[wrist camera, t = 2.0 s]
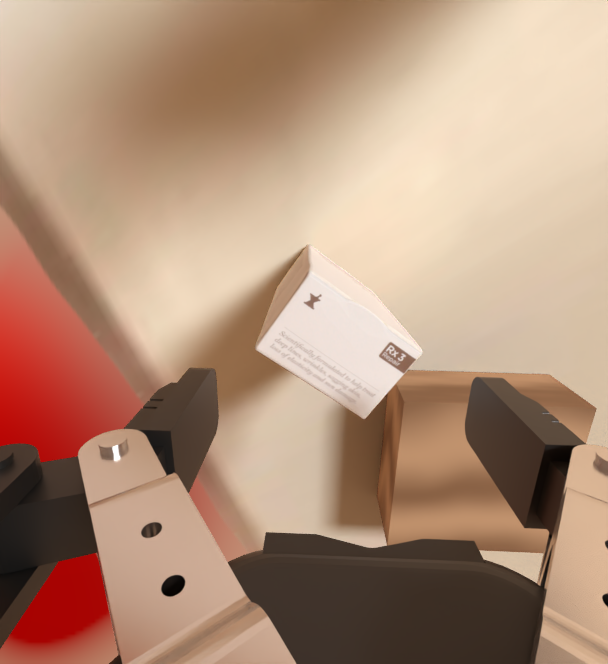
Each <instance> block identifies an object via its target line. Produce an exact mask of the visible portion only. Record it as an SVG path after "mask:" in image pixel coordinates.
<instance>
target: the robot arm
mask: <svg viewBox="0 0 608 664" xmlns="http://www.w3.org/2000/svg"><path fill="white" fill-rule="evenodd" d="M217 427H218V397H217V380H216V372H215V370H214V369H209V368H189V369H188V370H187V371H186V373H185V374H184V375H183V376H182V378H181V379H180V380H179V381H178V383H170V384H168V385H166V386H164V387H163V388H161V389H159V390H158V391H157V392H156V393H155V394H154V395H153V396H152V397H151V398H150V401H148V402H147V403H146V404H145V405H144V406H143V409H141V410H140V411H139V412H138V413H137V414H136V415H135V417H134V418H133V419H132V420H131V421H130V422H129V423H128V424H127V426H126V427H125V428H124V429H119V430H114V431H109V432H106V433H103V434H100V435H98V436H96V437H94V438H92V439H91V440H89V441H88V442H87V443H85V444H84V445H83V446H82V447H81V449H80V450H79V453H78V456H77V457H72V458H66V459H60V460H54V461H47V462H41V463H40V458H39V454H38V450H37V449H36V448H35V447H34V446H32V445H29V444H10V445H5V446H1V447H0V648H1V647H2V645H3V644H4V642H5V641H6V639H7V638H8V636H9V634H10V633H11V632H12V630H13V629H14V627H15V626H16V624H17V623H18V621H19V620H20V618H21V617H22V615H23V614H24V612H25V611H26V609H27V608H28V606H29V605H30V603H31V602H32V600H33V599H34V598H35V596H36V595H37V593H38V592H39V590H40V588H41V587H42V586H43V584H44V583H45V581H46V580H47V578H48V577H49V575H50V574H51V572H52V571H53V569H54V568H55V566H56V564H57V563H58V561H62V560H67V559H71V558H75V557H80V556H84V555H88V554H93V553H97V554H98V559H99V563H100V568H101V573H102V577H103V583H104V587H105V592H106V597H107V602H108V606H109V611H110V616H111V621H112V626H113V631H114V636H115V641H116V645H117V650H118V656H117V657H116V658H115V659H114V660H113V661H112V662H110V663H109V664H608V448H607V447H603V446H598V445H588V444H586V443H584V442H583V441H582V440H581V439H580V438H579V437H578V436H576V435H575V434H574V433H573V432H572V431H571V430H569V429H568V428H567V427H566V426H565V425H564V424H562V423H559V420H558V419H557V418H555V417H554V416H553V415H552V414H549V411H547V410H546V409H545V408H544V407H543V406H542V405H540V404H539V403H538V402H536V401H534V400H532V399H530V398H528V397H526V396H525V395H523V394H521V393H520V392H518V391H517V390H516V389H515V388H514V387H513V386H512V385H511V384H509V383H508V382H507V381H506V380H505V379H504V378H498V377H475V378H474V380H473V382H472V385H471V390H470V396H469V402H468V407H467V413H466V419H465V435H466V438H467V441H468V443H469V445H470V446H471V448H472V449H473V451H474V452H475V454H476V455H477V457H478V458H479V460H480V461H481V463H482V465H483V466H484V468H485V469H486V471H487V472H488V474H489V475H490V477H491V478H492V480H493V481H494V483H495V484H496V486H497V487H498V489H499V490H500V492H501V493H502V495H503V497H504V498H505V500H506V501H507V503H508V504H509V506H510V507H511V509H512V510H513V512H514V513H515V515H516V516H517V518H518V519H519V521H520V522H521V524H522V525H523V527H524V528H531V529H547V530H548V531H549V535H548V539H547V542H546V546H545V550H544V555H543V559H542V564H541V568H540V572H539V577H538V581H537V583H535V582H533V581H532V580H530V579H528V578H527V577H525V576H523V575H521V574H519V573H517V572H515V571H513V570H511V569H508V568H506V567H504V566H501V565H499V564H496V563H493V562H490V561H487V560H483V558H482V556H481V554H480V551H479V549H478V547H477V545H476V543H475V541H467V540H443V539H419V540H413V541H408V542H403V543H398V544H393V545H388V546H383V547H378V548H367V547H363V546H359V545H355V544H351V543H347V542H344V541H340V540H336V539H332V538H328V537H325V536H321V535H317V534H293V533H269V532H266V535H265V541H264V548H263V550H260V551H256V552H252V553H249V554H246V555H243V556H241V557H238V558H236V559H234V560H231V561H229V562H227V561H226V559H225V557H224V555H223V554H222V552H221V550H220V549H219V547H218V545H217V543H216V541H215V540H214V538H213V536H212V534H211V533H210V531H209V529H208V527H207V526H206V524H205V522H204V520H203V519H202V517H201V515H200V514H199V512H198V510H197V508H196V506H195V504H194V503H193V501H192V499H191V497H190V496H189V491H190V489H191V487H192V485H193V482H194V480H195V478H196V476H197V474H198V472H199V469H200V467H201V465H202V463H203V461H204V458H205V456H206V454H207V452H208V449H209V447H210V445H211V443H212V441H213V438H214V436H215V434H216V431H217Z"/></svg>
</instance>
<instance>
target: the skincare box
mask: <svg viewBox="0 0 608 664" xmlns="http://www.w3.org/2000/svg"><path fill="white" fill-rule="evenodd" d="M255 350H256V351H258V352H259V353H261V354H262V355H264V356H265V357H267V358H269V359H270V360H272V361H273V362H275V363H277V364H278V365H280V366H281V367H283V368H284V369H286V370H288V371H289V372H291V373H292V374H294V375H295V376H297V377H299V378H300V379H302V380H303V381H305V382H306V383H308V384H309V385H311V386H313V387H314V388H316V389H317V390H319V391H321V392H322V393H324V394H325V395H327V396H328V397H330V398H332V399H333V400H335V401H336V402H338V403H339V404H341V405H342V406H344V407H345V408H347V409H348V410H350V411H352V412H353V413H355V414H357V415H358V416H360V417H361V418H362V419H366V417H367V416H368V415H369V414H370V413H371V412H372V410H373V409H374V408H375V407H376V406H377V405H378V403H379V402H380V401H381V400H382V399H383V398H384V397H385V395H386V394H387V393H388V392H389V391H390V390H391V389H392V387H393V386H394V385H395V384H396V383H397V382H398V381H399V380H400V378H401V377H402V376H403V375H404V374H405V373H406V372H407V370H408V369H409V368H410V367H411V366H412V365H413V364H414V363H415V361H416V360H417V359H418V358H419V357H420V356H421V355H422V353H423V351H422V349H421V348H420V346H419V345H418V344H417V343H416V341H415V340H414V339H413V338H412V337H411V335H410V334H409V333H408V332H407V331H406V329H405V328H404V327H403V326H402V325H401V324H400V322H399V321H398V320H397V319H396V318H395V317H394V316H393V314H392V313H391V312H390V311H389V310H388V309H387V307H386V306H385V305H384V304H383V303H382V302H381V300H380V299H379V298H378V297H377V296H376V295H375V293H374V292H373V291H372V290H370V289H369V288H368V287H366V286H365V285H364V284H362V283H361V282H360V281H358V280H357V279H356V278H354V277H353V276H352V275H350V274H349V273H348V272H346V271H345V270H344V269H342V268H341V267H340V266H338V265H337V264H336V263H334V262H333V261H332V260H330V259H329V258H328V257H326V256H325V255H323V254H322V253H321V252H319V251H318V250H317V249H315V248H314V247H313V246H311V245H307V246H306V247H305V249H304V250H303V251H302V253H301V254H300V256H299V257H298V258H297V260H296V261H295V262H294V264H293V265H292V267H291V268H290V269H289V271H288V272H287V274H286V275H285V277H284V278H283V279H282V281H281V282H280V284H279V285H278V287H277V288H276V292H275V295H274V297H273V300H272V302H271V305H270V307H269V310H268V313H267V315H266V318H265V321H264V323H263V326H262V329H261V332H260V334H259V336H258V339H257V341H256V344H255Z"/></svg>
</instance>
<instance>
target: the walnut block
mask: <svg viewBox="0 0 608 664" xmlns="http://www.w3.org/2000/svg"><path fill="white" fill-rule="evenodd" d="M475 377H498V378H504V379H505V380H506V381H507V382H508V383H509V384H511V385H512V386H513V387H514V388H515V389H516V390H517V391H518V392H520V393H521V394H523V395H525V396H526V397H528V398H530V399H532V400H534V401H536V402H538V403H539V404H540V405H542V406H543V407H544V408H545V409H546V410H547V411H549V414H552V415H553V416H554V417H555V418H557V419H558V420H559V423H562V424H564V425H565V426H566V427H567V428H568V429H569V430H571V431H572V432H573V433H574V434H575V435H576V436H578V437H579V438H580V439H581V440H582V441H583V442H584V443H586V441H587V438H588V435H589V432H590V428H591V425H592V422H593V418H594V415H595V412H596V408H595V407H594V406H592V405H591V404H590V403H588V402H587V401H586V400H584V399H583V398H581V397H580V396H579V395H577V394H576V393H574V392H573V391H572V390H570V389H569V388H567V387H566V386H565V385H563V384H562V383H560V382H559V381H558V380H556V379H555V378H553V377H552V376H551V375H545V374H514V373H483V372H451V371H420V370H407V372H406V373H405V374H404V375H403V376H402V377H401V378H400V380H399V381H398V382H397V383H396V384H395V385H394V386H393V387H392V389H391V390H390V391H389V392H388V393H387V403H386V413H385V423H384V433H383V443H382V453H381V463H380V473H379V483H378V493H377V498H378V503H379V508H380V513H381V518H382V523H383V527H384V532H385V537H386V542H387V546H388V545H393V544H398V543H403V542H408V541H413V540H419V539H443V540H467V541H475V543H476V545H477V547H478V549H479V550H485V551H508V552H530V553H544V550H545V546H546V542H547V539H548V535H549V531H548V530H547V529H531V528H524V527H523V525H522V524H521V522H520V521H519V519H518V518H517V516H516V515H515V513H514V512H513V510H512V509H511V507H510V506H509V504H508V503H507V501H506V500H505V498H504V497H503V495H502V493H501V492H500V490H499V489H498V487H497V486H496V484H495V483H494V481H493V480H492V478H491V477H490V475H489V474H488V472H487V471H486V469H485V468H484V466H483V465H482V463H481V461H480V460H479V458H478V457H477V455H476V454H475V452H474V451H473V449H472V448H471V446H470V445H469V443H468V441H467V438H466V435H465V419H466V413H467V407H468V402H469V396H470V390H471V385H472V382H473V380H474V378H475Z"/></svg>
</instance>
